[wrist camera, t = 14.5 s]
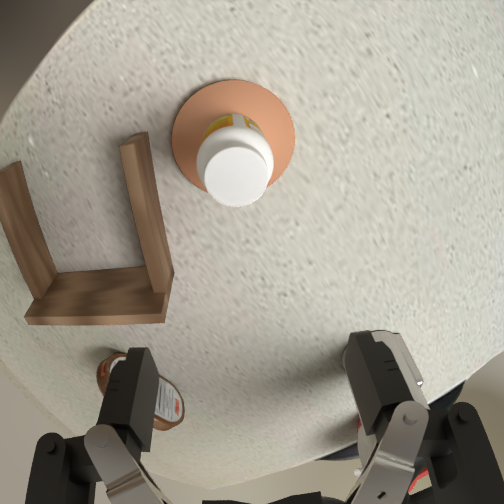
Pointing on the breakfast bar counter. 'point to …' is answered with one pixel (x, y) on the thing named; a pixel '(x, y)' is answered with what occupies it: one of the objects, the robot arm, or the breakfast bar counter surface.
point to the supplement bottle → (234, 160)
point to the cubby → (98, 281)
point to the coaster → (232, 102)
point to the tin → (168, 396)
